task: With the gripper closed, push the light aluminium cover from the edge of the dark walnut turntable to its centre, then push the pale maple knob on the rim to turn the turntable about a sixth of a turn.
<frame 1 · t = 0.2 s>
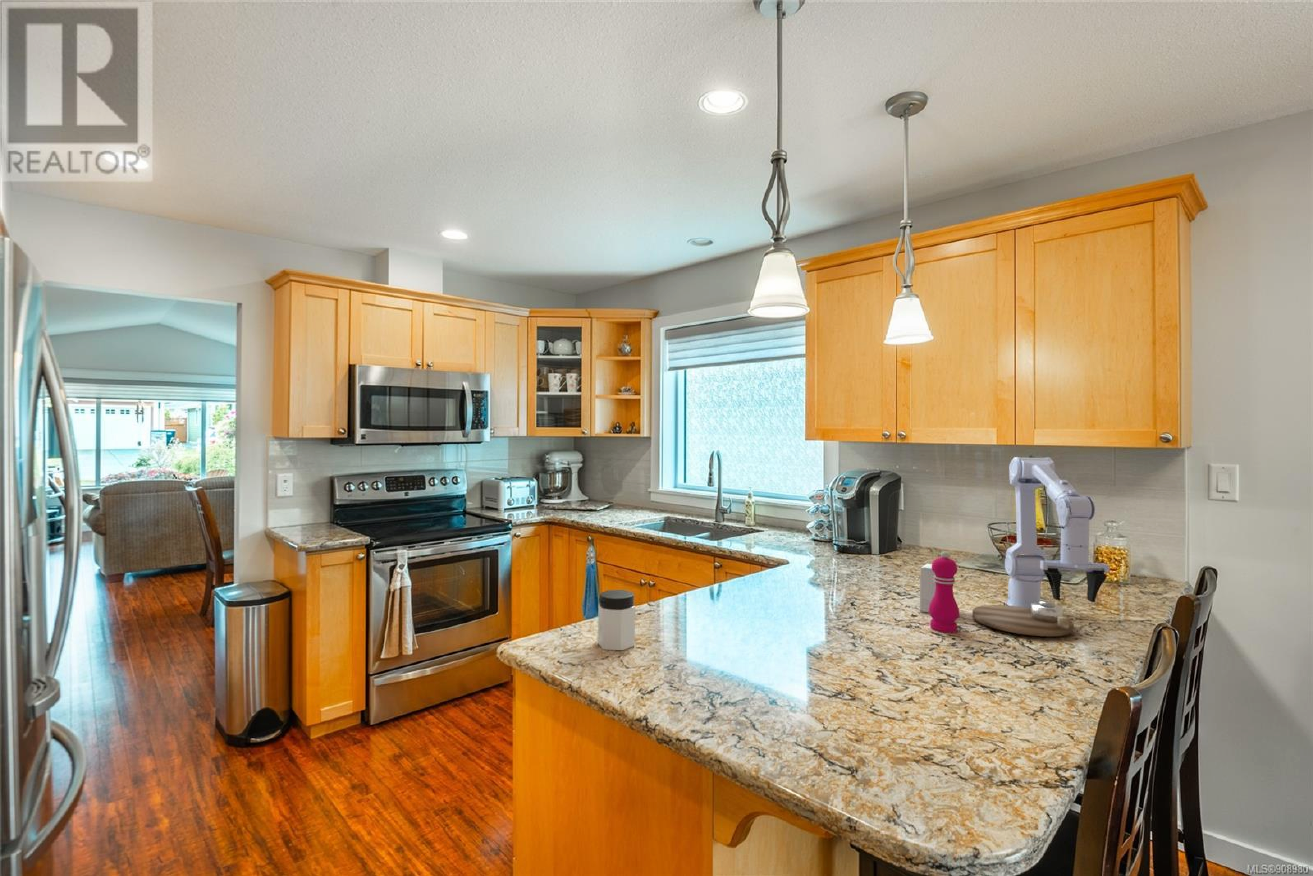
hand: (1073, 600, 151), 10 cm above the counter, tool pointing down, fingers open, 7 cm apart
supplement box: (936, 611, 175), on the counter
jar: (616, 645, 144), on the counter
aluminium cover: (1046, 619, 161), point 2 cm above the counter, touching turntable top
pepper mill: (943, 629, 158), on the counter
turntable top: (1021, 615, 162), point 3 cm above the counter, hinge at 0.0°, touching aluminium cover
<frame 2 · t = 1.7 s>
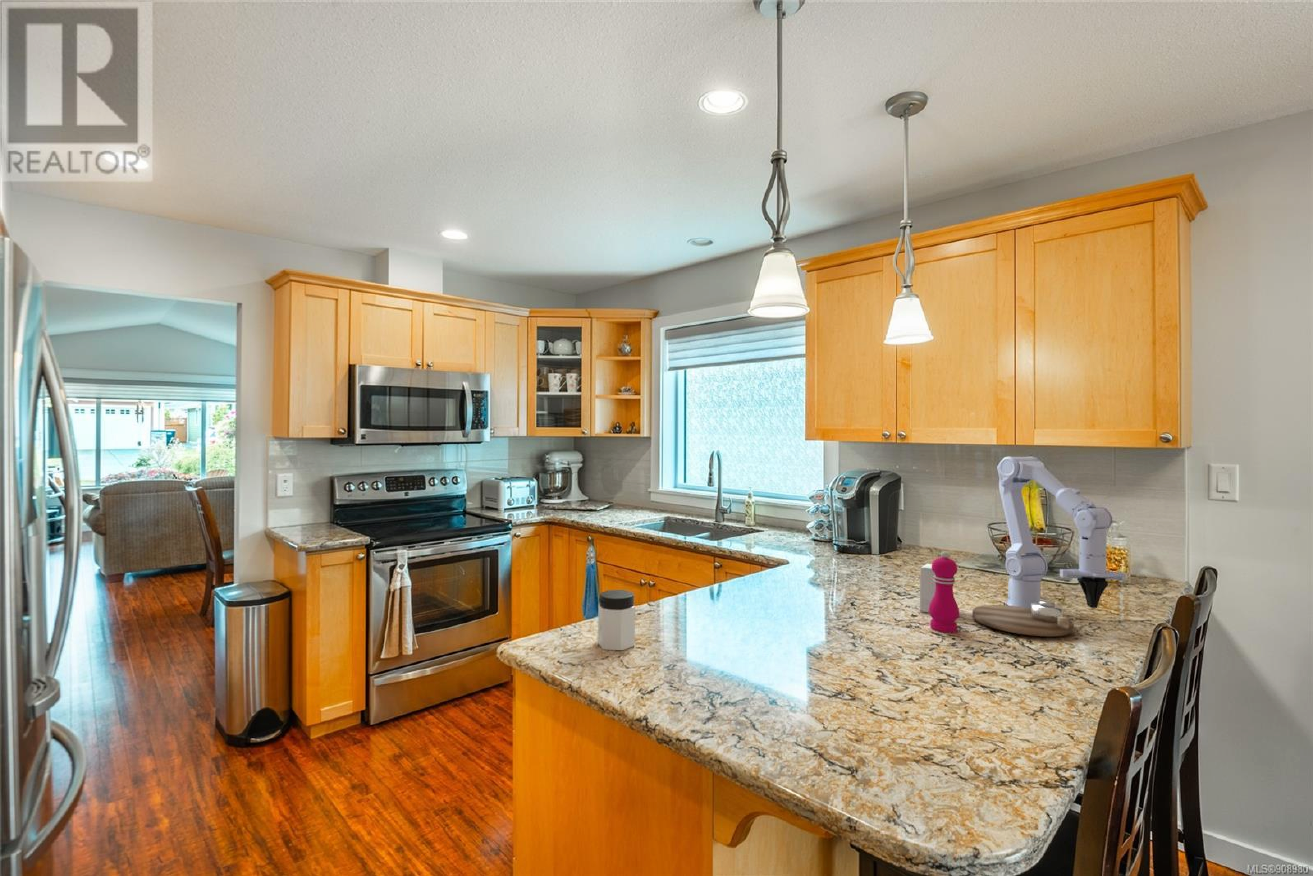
hand: (1092, 606, 158), 6 cm above the counter, tool pointing down, fingers closed
nothing on the counter moved.
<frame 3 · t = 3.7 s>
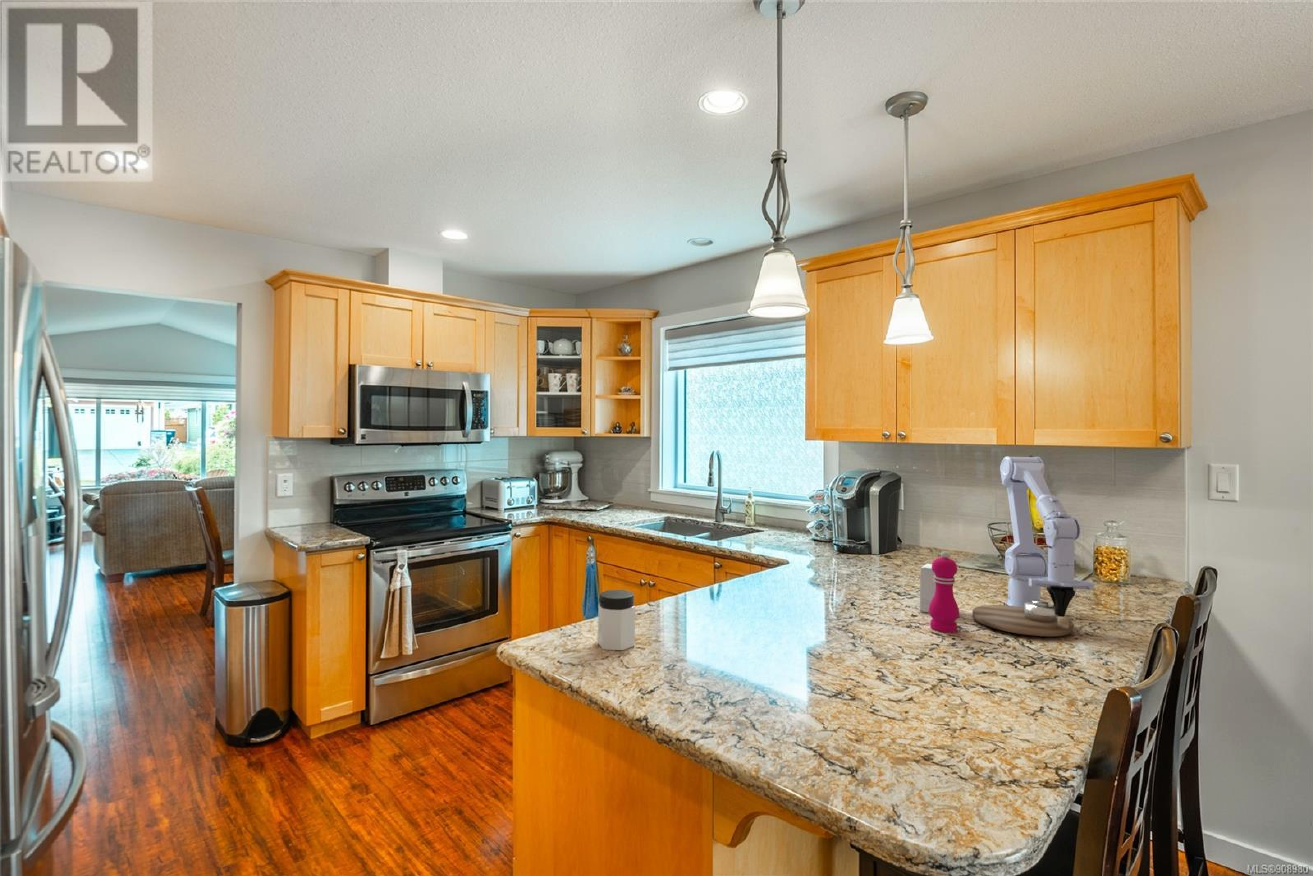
hand: (1060, 615, 160), 3 cm above the counter, tool pointing down, fingers closed
aluminium cover: (1039, 618, 161), point 2 cm above the counter, touching gripper
turntable top: (1021, 615, 162), point 3 cm above the counter, hinge at 0.0°
everything else where it was.
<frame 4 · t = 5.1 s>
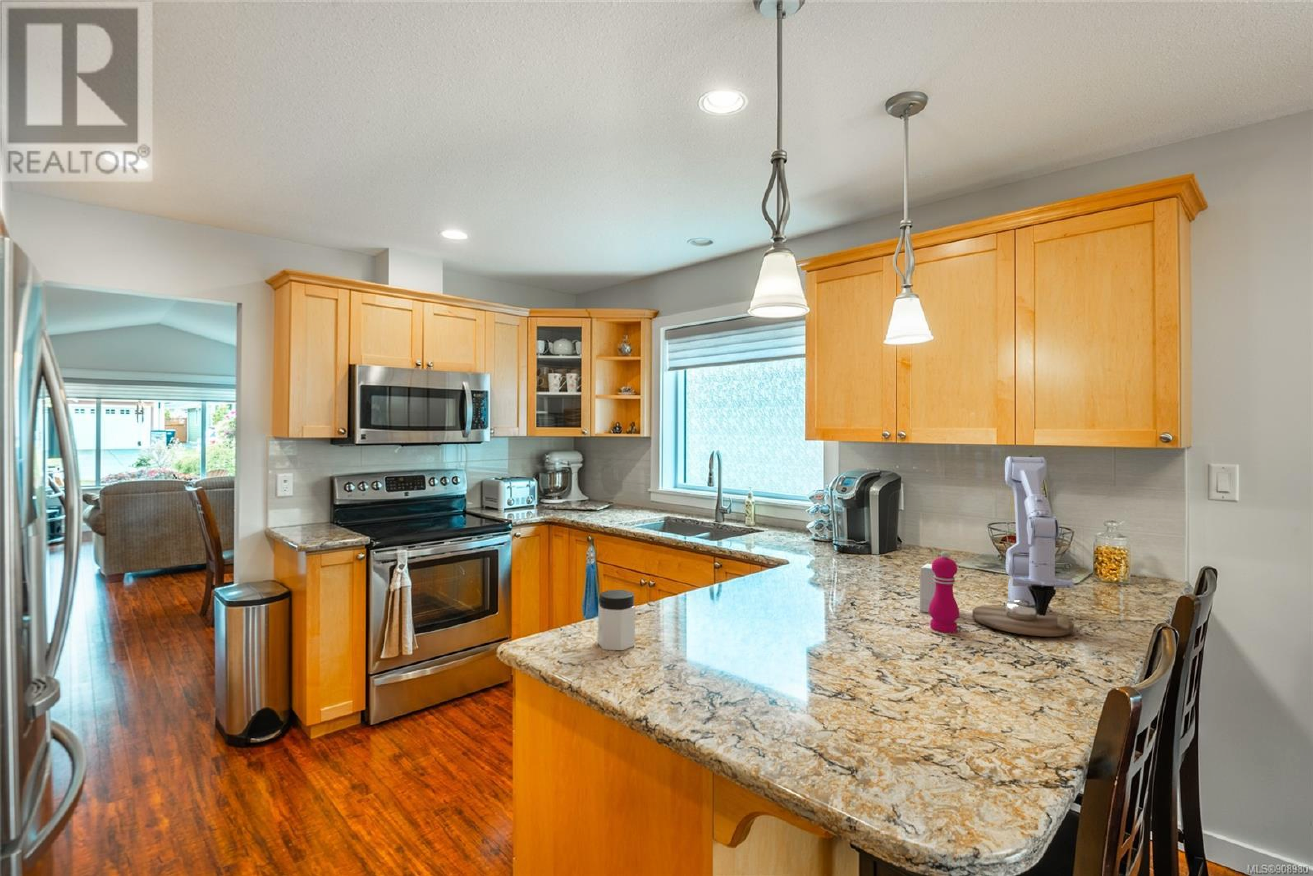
hand: (1041, 614, 161), 3 cm above the counter, tool pointing down, fingers closed
aluminium cover: (1021, 617, 162), point 2 cm above the counter, touching gripper, turntable top
turntable top: (1021, 615, 162), point 3 cm above the counter, hinge at 0.0°, touching aluminium cover
everything else where it was.
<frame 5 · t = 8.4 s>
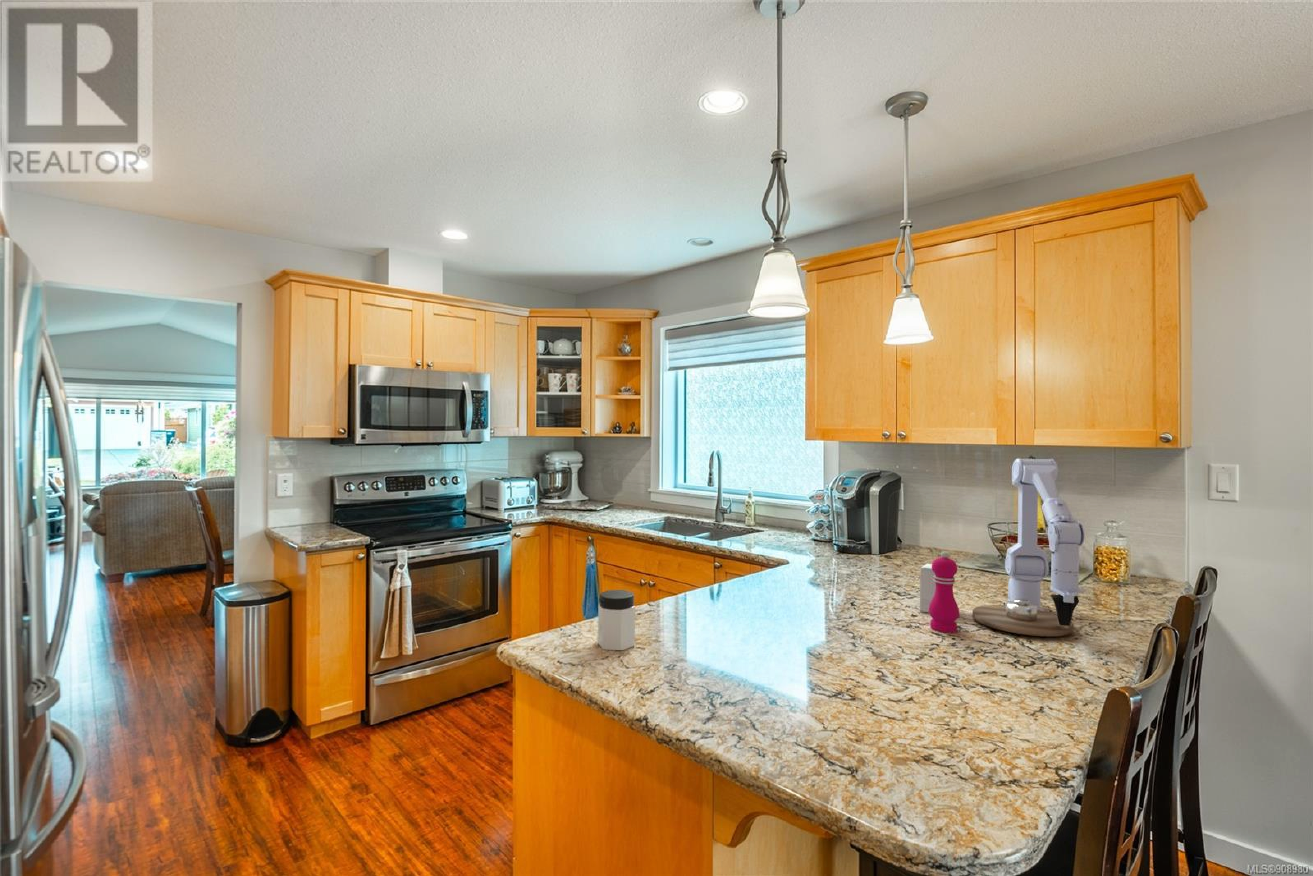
hand: (1064, 625, 152), 3 cm above the counter, tool pointing down, fingers closed, pressing on turntable top
aluminium cover: (1021, 617, 162), point 2 cm above the counter, touching turntable top
turntable top: (1021, 615, 162), point 3 cm above the counter, hinge at 0.5°, touching aluminium cover, gripper
everything else where it was.
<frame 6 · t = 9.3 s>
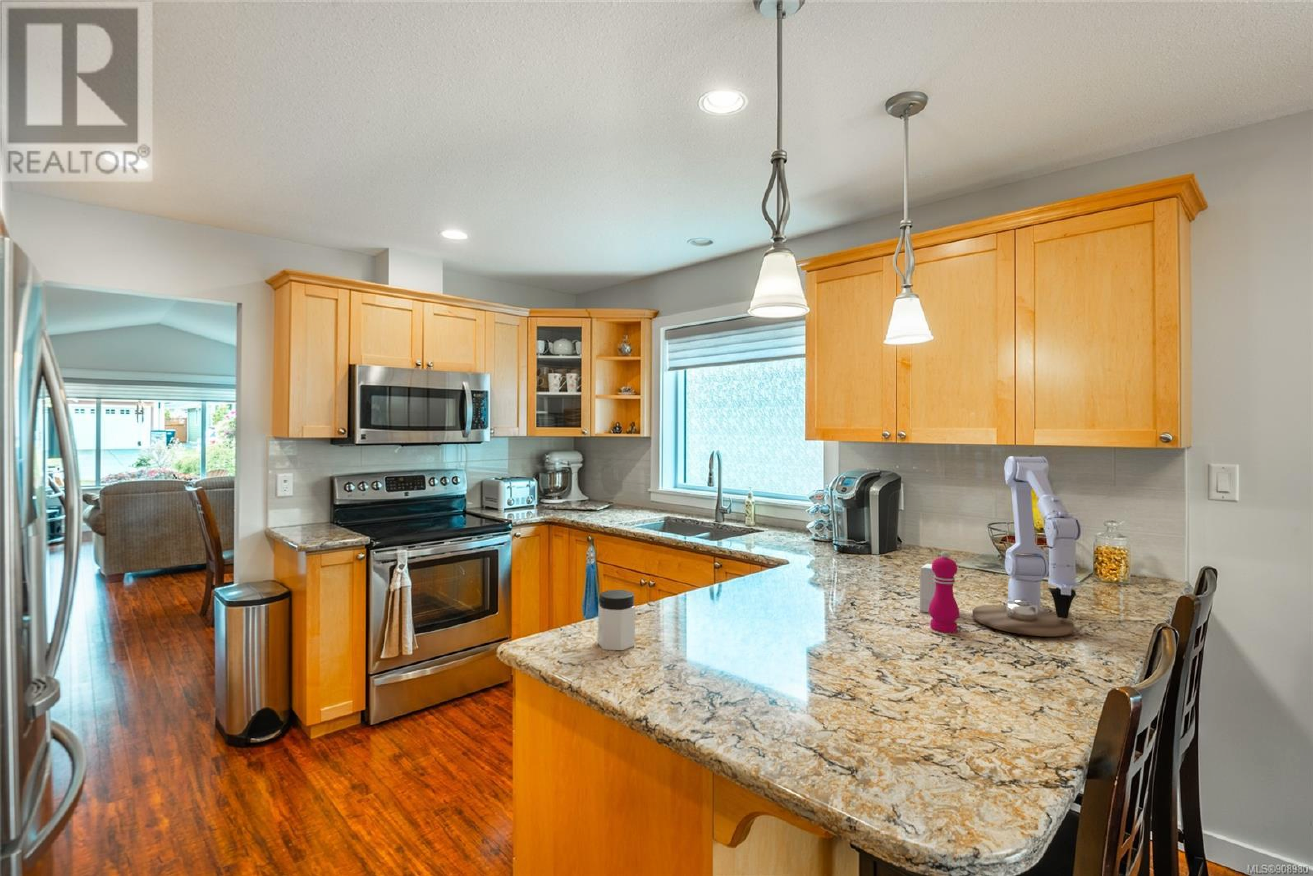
hand: (1062, 617, 157), 4 cm above the counter, tool pointing down, fingers closed, pressing on turntable top
turntable top: (1021, 615, 162), point 3 cm above the counter, hinge at 34.9°, touching aluminium cover, gripper
everything else where it was.
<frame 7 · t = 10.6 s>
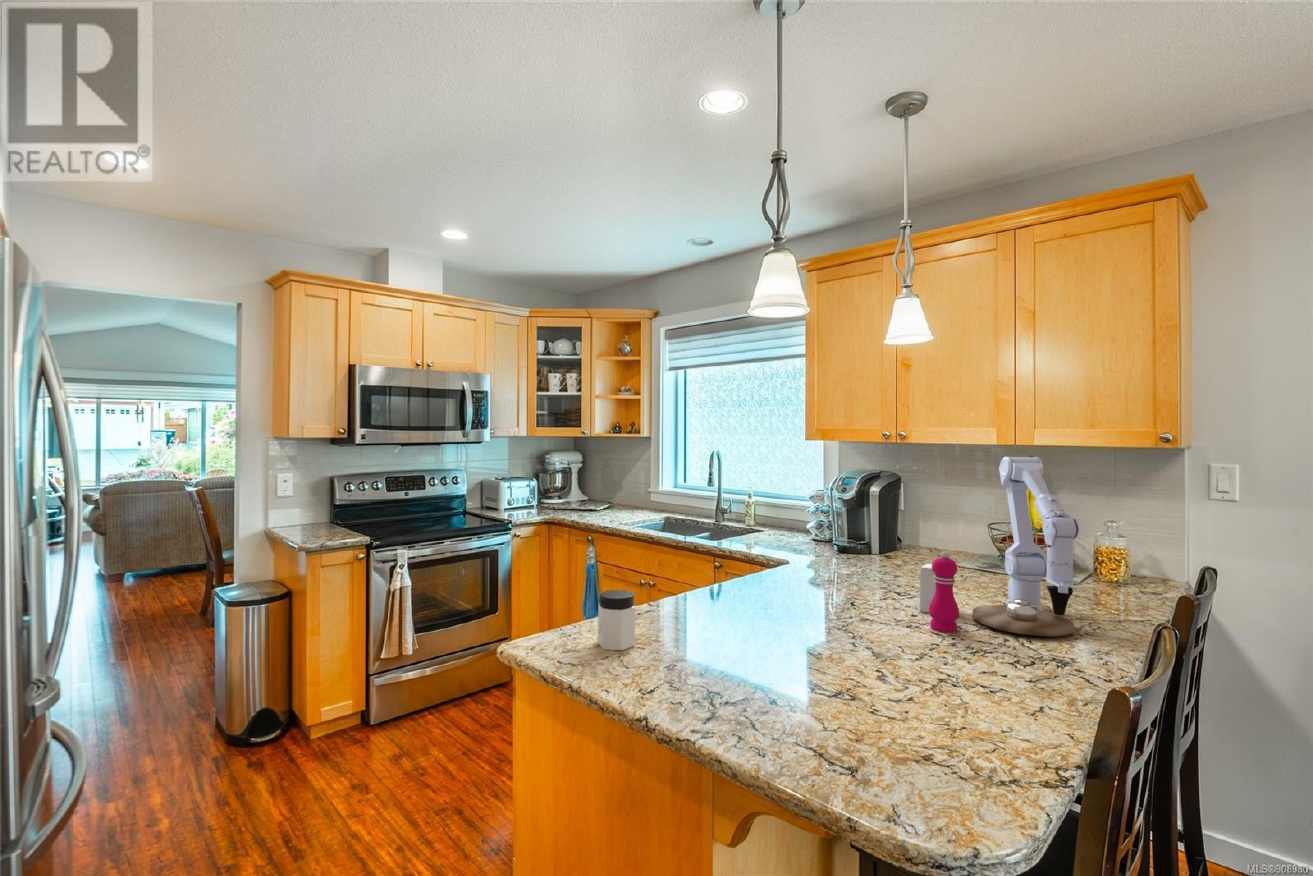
hand: (1059, 614, 160), 3 cm above the counter, tool pointing down, fingers closed
turntable top: (1021, 615, 162), point 3 cm above the counter, hinge at 56.6°, touching aluminium cover, gripper
everything else where it was.
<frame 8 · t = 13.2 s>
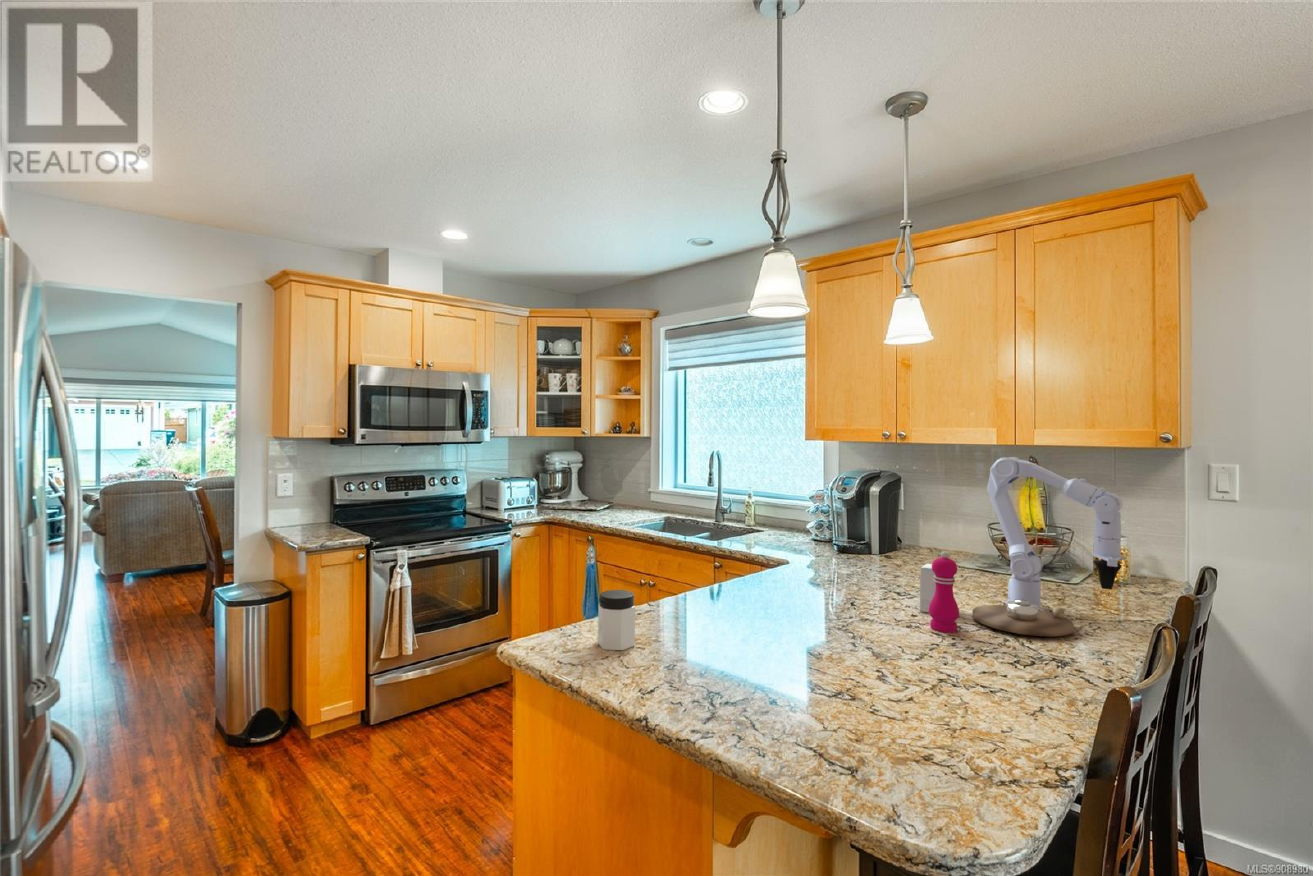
hand: (1106, 588, 164), 9 cm above the counter, tool pointing down, fingers closed
turntable top: (1021, 615, 162), point 3 cm above the counter, hinge at 58.0°, touching aluminium cover
everything else where it was.
at the end: aluminium cover 0.2 cm from the turntable top (horizontally); turntable top at +58° (first picture: +0°); aluminium cover tilted 0° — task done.
